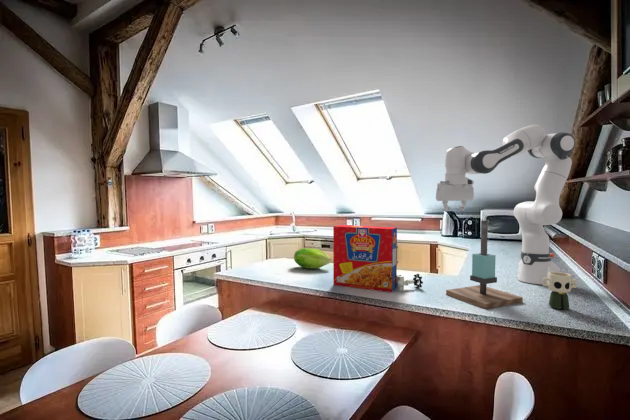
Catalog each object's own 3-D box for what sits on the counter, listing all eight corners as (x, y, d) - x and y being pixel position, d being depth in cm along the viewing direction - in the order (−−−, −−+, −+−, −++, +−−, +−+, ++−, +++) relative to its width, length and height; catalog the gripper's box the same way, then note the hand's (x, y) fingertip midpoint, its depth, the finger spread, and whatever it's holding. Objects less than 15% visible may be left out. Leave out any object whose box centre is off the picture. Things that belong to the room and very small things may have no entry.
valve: (399, 292, 150) (423, 289, 154) (399, 277, 150) (423, 275, 154) (391, 288, 157) (414, 286, 160) (392, 274, 156) (414, 272, 160)
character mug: (545, 309, 127) (546, 275, 126) (538, 303, 134) (539, 270, 133) (580, 312, 124) (581, 276, 123) (571, 306, 131) (572, 272, 130)
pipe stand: (480, 289, 154) (481, 218, 152) (522, 302, 136) (524, 221, 134) (446, 294, 146) (447, 219, 145) (485, 309, 128) (487, 223, 126)
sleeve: (482, 274, 144) (483, 252, 144) (495, 277, 139) (495, 255, 138) (472, 275, 142) (472, 254, 142) (484, 278, 136) (484, 256, 136)
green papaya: (324, 273, 187) (324, 251, 187) (288, 269, 197) (288, 249, 197) (334, 268, 199) (334, 248, 198) (299, 264, 209) (299, 245, 208)
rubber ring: (482, 278, 145) (482, 273, 145) (496, 282, 139) (496, 277, 139) (470, 280, 142) (470, 275, 142) (484, 284, 136) (484, 279, 136)
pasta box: (333, 285, 163) (333, 226, 161) (340, 281, 170) (340, 225, 168) (391, 292, 150) (392, 229, 148) (396, 288, 157) (396, 227, 156)
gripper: (442, 180, 154) (442, 211, 155) (476, 181, 162) (475, 210, 163) (432, 181, 160) (432, 210, 161) (465, 181, 168) (465, 209, 169)
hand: (454, 210), depth 162 cm, fingers open, 8 cm apart
